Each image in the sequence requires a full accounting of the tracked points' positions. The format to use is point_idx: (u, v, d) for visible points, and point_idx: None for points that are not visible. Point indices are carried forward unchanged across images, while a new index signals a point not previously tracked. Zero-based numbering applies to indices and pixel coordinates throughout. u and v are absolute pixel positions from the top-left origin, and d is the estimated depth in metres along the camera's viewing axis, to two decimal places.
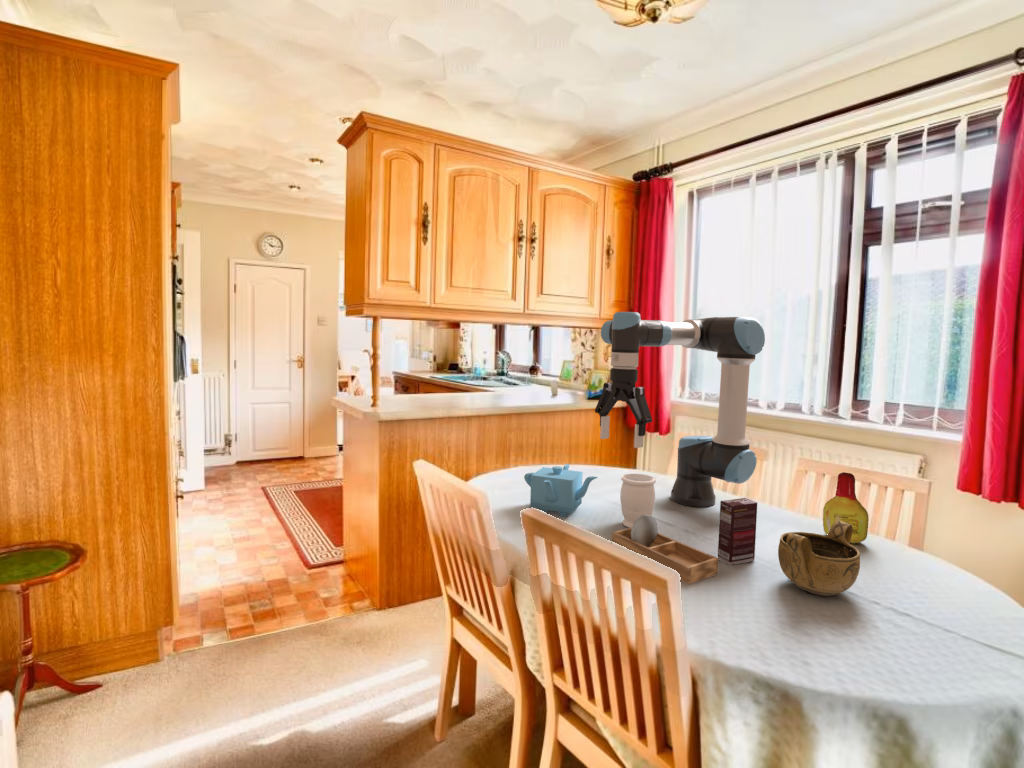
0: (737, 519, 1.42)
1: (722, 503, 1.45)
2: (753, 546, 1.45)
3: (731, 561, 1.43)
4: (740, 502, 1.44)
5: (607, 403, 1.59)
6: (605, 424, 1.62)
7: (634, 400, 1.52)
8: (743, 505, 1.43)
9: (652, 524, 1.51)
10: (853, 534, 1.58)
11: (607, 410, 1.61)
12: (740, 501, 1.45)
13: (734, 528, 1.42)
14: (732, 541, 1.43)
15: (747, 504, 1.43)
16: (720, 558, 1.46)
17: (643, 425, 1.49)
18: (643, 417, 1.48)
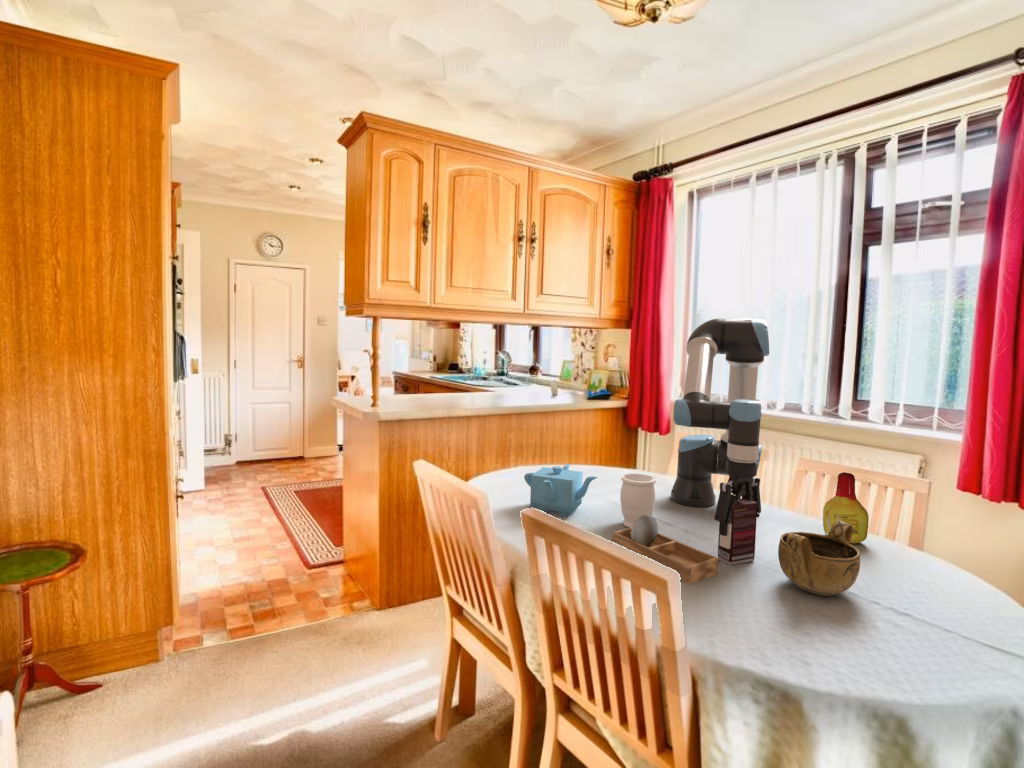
0: (737, 519, 1.42)
1: None
2: (753, 546, 1.45)
3: (731, 561, 1.43)
4: (740, 502, 1.44)
5: None
6: None
7: (733, 496, 1.43)
8: (743, 505, 1.43)
9: (652, 524, 1.51)
10: (853, 534, 1.58)
11: None
12: (740, 501, 1.45)
13: (734, 528, 1.42)
14: (732, 541, 1.43)
15: (747, 504, 1.43)
16: (720, 558, 1.46)
17: (721, 524, 1.42)
18: None
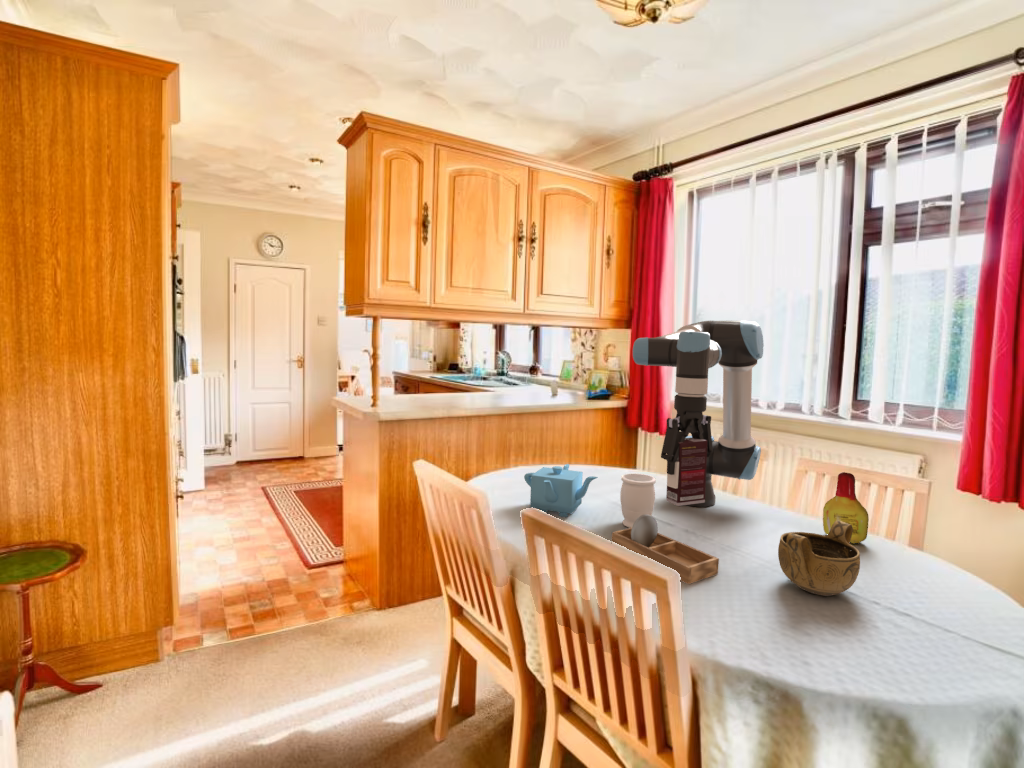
0: (685, 457, 1.34)
1: None
2: (703, 487, 1.37)
3: (680, 502, 1.35)
4: (689, 440, 1.36)
5: None
6: None
7: (680, 433, 1.35)
8: (692, 442, 1.35)
9: (652, 524, 1.51)
10: (853, 534, 1.58)
11: None
12: (689, 439, 1.37)
13: (681, 466, 1.34)
14: (680, 481, 1.35)
15: (696, 442, 1.35)
16: (668, 500, 1.38)
17: (668, 462, 1.34)
18: None
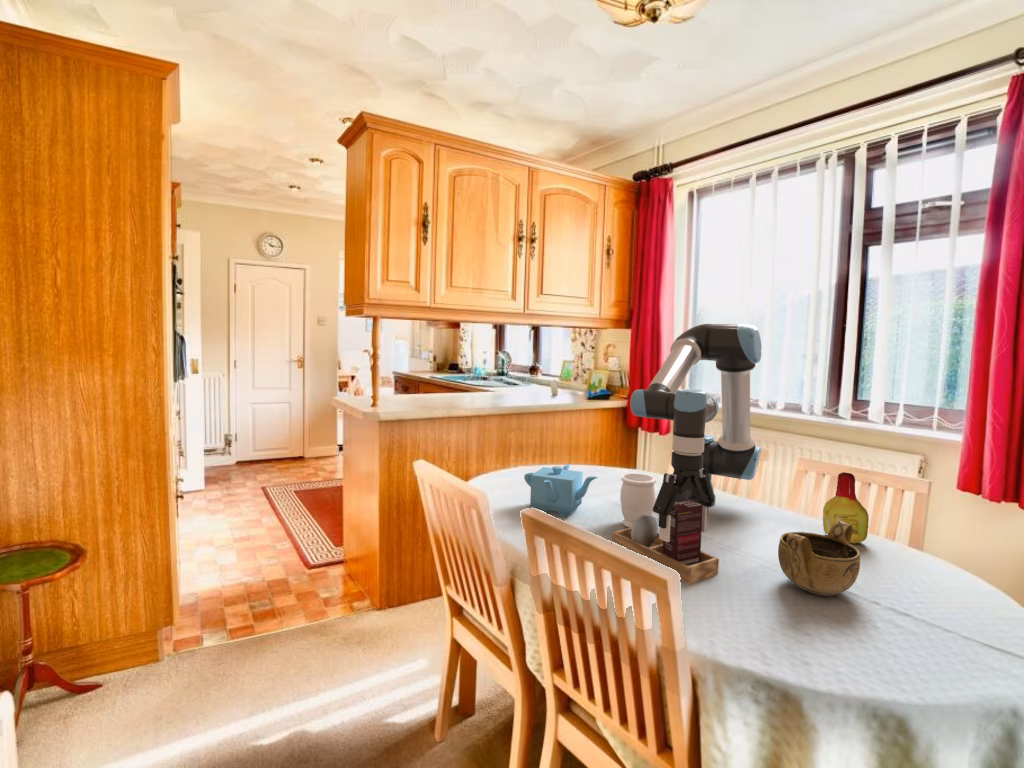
0: (681, 522, 1.36)
1: None
2: (698, 550, 1.39)
3: None
4: (684, 505, 1.37)
5: None
6: None
7: (676, 489, 1.36)
8: (687, 508, 1.37)
9: (652, 524, 1.51)
10: (853, 534, 1.58)
11: (700, 499, 1.42)
12: (685, 503, 1.39)
13: (678, 532, 1.36)
14: (676, 546, 1.36)
15: (692, 507, 1.37)
16: None
17: (660, 516, 1.34)
18: None
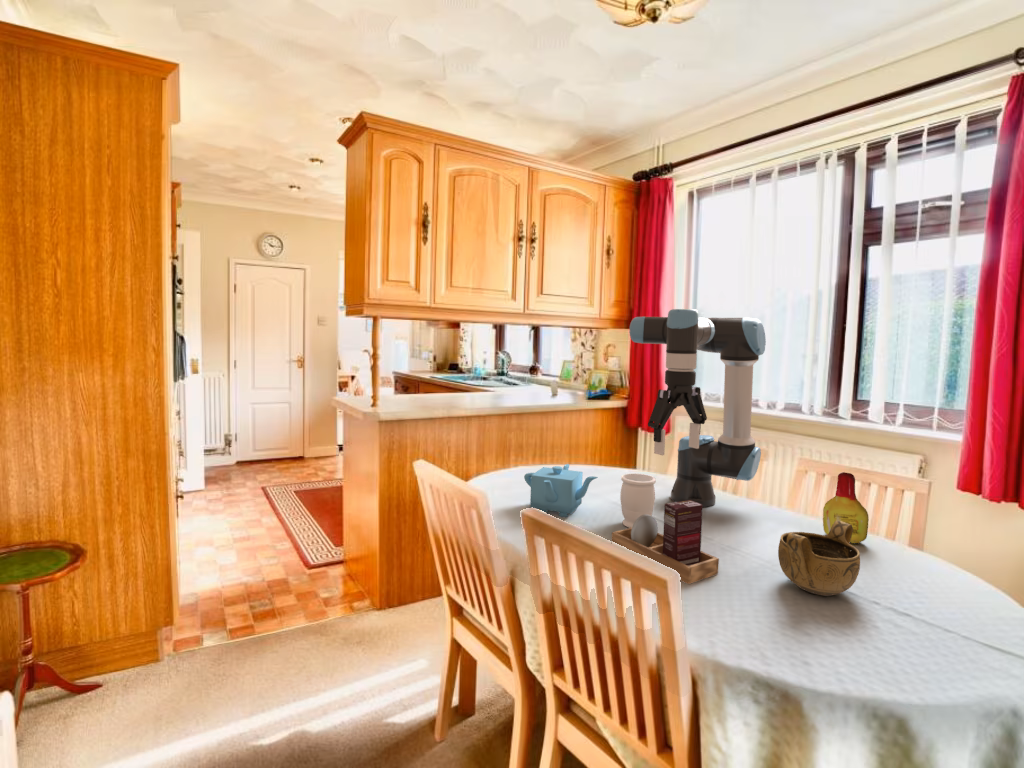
0: (681, 522, 1.36)
1: (666, 506, 1.38)
2: (698, 550, 1.39)
3: None
4: (684, 505, 1.37)
5: None
6: (692, 432, 1.48)
7: (670, 404, 1.41)
8: (687, 508, 1.37)
9: (652, 524, 1.51)
10: (853, 534, 1.58)
11: (692, 416, 1.47)
12: (685, 503, 1.39)
13: (678, 532, 1.36)
14: (676, 546, 1.36)
15: (692, 507, 1.37)
16: None
17: (655, 430, 1.39)
18: None
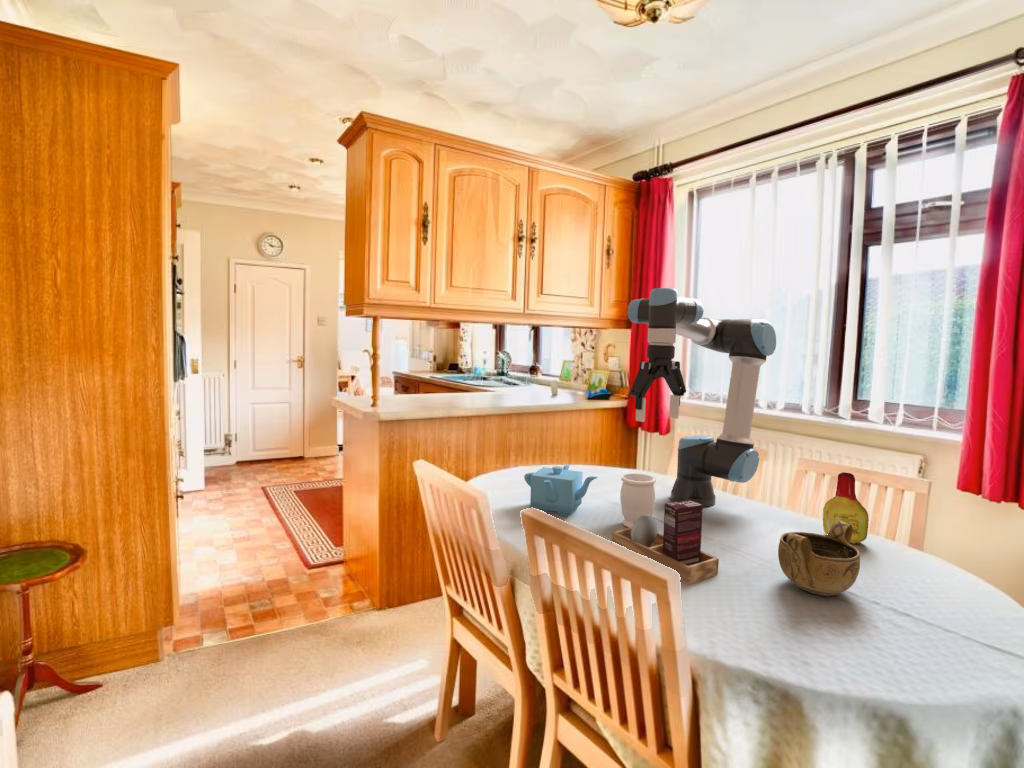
0: (681, 522, 1.36)
1: (666, 506, 1.38)
2: (698, 550, 1.39)
3: None
4: (684, 505, 1.37)
5: None
6: (673, 403, 1.60)
7: (650, 376, 1.53)
8: (687, 508, 1.37)
9: (652, 524, 1.51)
10: (853, 534, 1.58)
11: (672, 389, 1.60)
12: (685, 503, 1.39)
13: (678, 532, 1.36)
14: (676, 546, 1.36)
15: (692, 507, 1.37)
16: None
17: (636, 398, 1.52)
18: None
